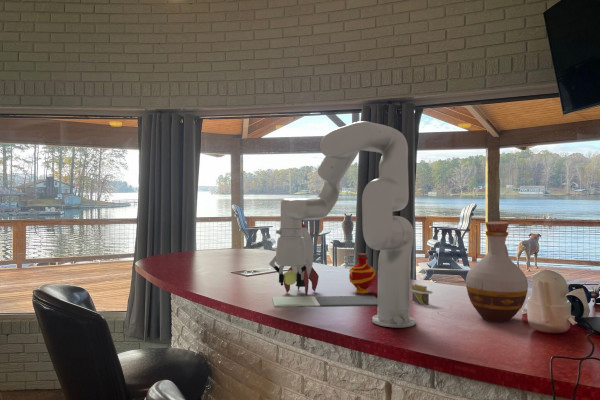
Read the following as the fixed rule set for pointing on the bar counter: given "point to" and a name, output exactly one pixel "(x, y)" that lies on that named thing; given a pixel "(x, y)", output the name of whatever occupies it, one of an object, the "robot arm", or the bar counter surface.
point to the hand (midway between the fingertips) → (289, 284)
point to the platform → (420, 294)
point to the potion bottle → (362, 274)
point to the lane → (325, 301)
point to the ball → (289, 277)
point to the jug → (496, 279)
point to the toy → (309, 271)
